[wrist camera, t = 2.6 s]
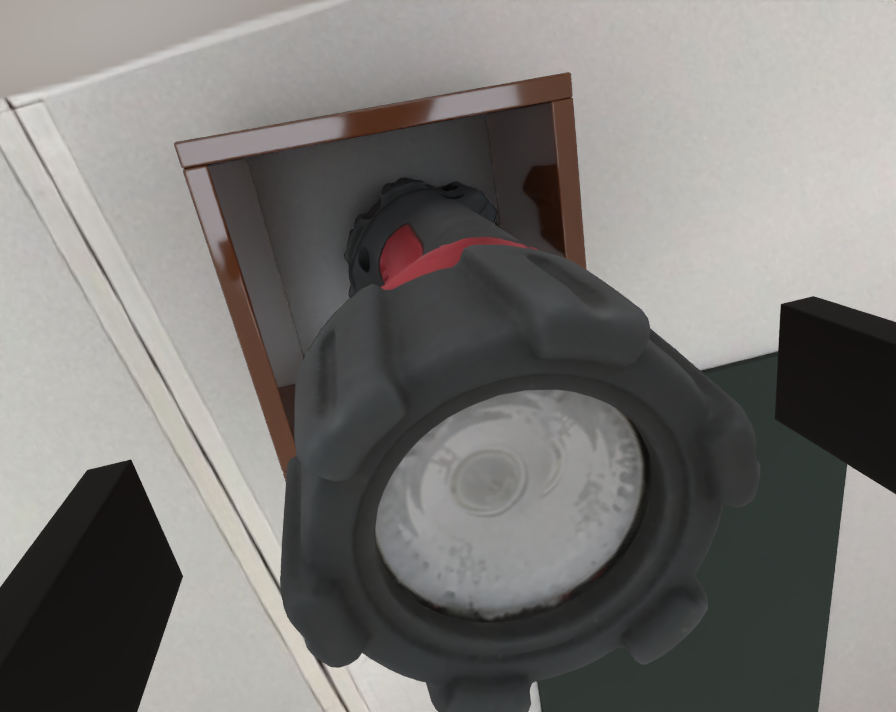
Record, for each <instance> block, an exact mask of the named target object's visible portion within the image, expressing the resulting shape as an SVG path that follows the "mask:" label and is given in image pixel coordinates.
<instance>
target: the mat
mask: <svg viewBox="0 0 896 712" xmlns="http://www.w3.org/2000/svg"><path fill="white" fill-rule="evenodd" d="M777 368H778V352H776V353H772V354H768V355H764V356H760V357H756V358H752V359H748V360H744V361H740V362H736V363H732V364H728V365H724V366H720V367H716V368H712V369H708V370H704V371H701V372H702V373H703V374H704V375H706V376H707V377H708V378H709V379H710V380H711V381H713V382H714V383H715V384H716V385H717V386H719V387H720V388H721V389H722V390H723V391H724V392H726V393H727V394H728V395H729V396H730V397H732V398H733V399H734V400H735V401H736V402H737V403H739V404H740V406H741V407H742V408H743V410H744V411H745V413H746V415H747V416H748V418H749V420H750V422H751V424H752V426H753V428H754V432H755V437H756V443H757V448H756V453H757V461H758V462H759V464H760V479H759V484H758V489H757V494H756V495H755V497H754V499H753V500H752V501H751V502H750V503H748V504H747V505H745V506H742V507H738V508H736V507H731V506H726V505H723V509H722V513H721V517H720V521H719V525H718V529H717V531H716V534H715V536H714V539H713V541H712V543H711V546H710V548H709V551H708V553H707V555H706V556H705V558H704V560H703V562H702V564H701V566H700V568H699V570H698V571H697V573H696V574H695V576H696V577H697V579H698V580H699V582H700V584H701V585H702V587H703V588H704V590H705V593H706V595H707V603H708V609H707V611H706V613H705V614H704V616H703V617H702V619H701V621H700V622H699V623H698V624H697V625H696V627H695V628H694V629H693V630H692V631H691V632H690V633H689V634H688V635H687V636H686V637H685V638H684V639H683V640H682V641H681V642H679V643H678V644H677V645H676V646H675V647H674V648H673V649H671V650H670V651H668V652H667V653H665V654H664V655H663V656H661V657H660V658H658V659H656V660H654V661H652V662H650V663H648V664H640V663H638V662H637V661H635V660H634V658H633V657H632V656H631V654H630V653H629V652H628V651H627V649H626V648H620V647H619V648H617V649H615V650H613V651H612V652H610V653H608V654H606V655H605V656H603V657H601V658H599V659H598V660H596V661H594V662H592V663H590V664H588V665H586V666H584V667H582V668H579V669H576V670H573V671H570V672H567V673H564V674H561V675H559V676H556V677H552V678H548V679H544V680H539V681H537V682H538V688H539V695H540V701H541V708H542V712H818V708H819V700H820V691H821V683H822V674H823V666H824V657H825V648H826V640H827V631H828V623H829V614H830V606H831V597H832V589H833V580H834V572H835V563H836V555H837V546H838V538H839V529H840V521H841V512H842V504H843V495H844V487H845V478H846V470H847V464H846V463H845V462H843V461H841V460H840V459H838V458H837V457H835V456H833V455H832V454H830V453H828V452H827V451H825V450H824V449H822V448H820V447H819V446H817V445H816V444H814V443H812V442H811V441H809V440H807V439H806V438H804V437H803V436H801V435H799V434H798V433H796V432H795V431H793V430H791V429H790V428H788V427H786V426H785V425H783V424H782V423H780V422H778V421H777V420H775V405H776V386H777Z"/></svg>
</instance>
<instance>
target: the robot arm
mask: <svg viewBox="0 0 896 712" xmlns="http://www.w3.org/2000/svg"><path fill="white" fill-rule="evenodd" d="M775 420H777V421H778V422H780V423H782V424H783V425H785V426H786V427H788V428H790V429H791V430H793V431H795V432H796V433H798V434H799V435H801V436H803V437H804V438H806V439H807V440H809V441H811V442H812V443H814V444H816V445H817V446H819V447H820V448H822V449H824V450H825V451H827V452H828V453H830V454H832V455H833V456H835V457H837V458H838V459H840V460H841V461H843V462H845V463H846V464H848V465H849V466H851V467H853V468H854V469H856V470H858V471H859V472H861V473H862V474H864V475H866V476H867V477H869V478H870V479H872V480H874V481H875V482H877V483H879V484H880V485H882V486H883V487H885V488H887V489H888V490H890V491H892V492H893V493H895V494H896V322H894V321H891V320H887V319H884V318H881V317H878V316H875V315H871V314H868V313H865V312H862V311H859V310H856V309H852V308H849V307H846V306H843V305H840V304H837V303H833V302H830V301H827V300H824V299H821V298H817V297H814V296H813V297H809V298H805V299H800V300H796V301H792V302H788V303H784V304H781V312H780V330H779V349H778V368H777V386H776V405H775ZM182 578H183V575H182V573H181V570H180V568H179V566H178V564H177V561H176V559H175V557H174V555H173V553H172V550H171V548H170V546H169V544H168V541H167V539H166V537H165V535H164V532H163V530H162V528H161V526H160V523H159V521H158V519H157V517H156V514H155V512H154V510H153V508H152V505H151V503H150V501H149V499H148V496H147V494H146V492H145V490H144V487H143V485H142V483H141V481H140V478H139V476H138V474H137V472H136V469H135V467H134V465H133V463H132V460H127V461H123V462H119V463H115V464H111V465H107V466H102V467H98V468H94V469H90V470H87V471H86V472H85V474H84V475H83V477H82V478H81V479H80V481H79V482H78V483H77V485H76V486H75V487H74V489H73V490H72V491H71V493H70V494H69V495H68V497H67V498H66V499H65V501H64V502H63V503H62V505H61V506H60V508H59V509H58V510H57V512H56V513H55V514H54V516H53V517H52V518H51V520H50V521H49V522H48V524H47V525H46V526H45V528H44V529H43V530H42V532H41V533H40V534H39V536H38V537H37V538H36V540H35V541H34V543H33V544H32V545H31V547H30V548H29V549H28V551H27V552H26V553H25V555H24V556H23V557H22V559H21V560H20V561H19V563H18V564H17V565H16V567H15V568H14V569H13V571H12V572H11V574H10V575H9V576H8V578H7V579H6V580H5V582H4V583H3V584H2V586H1V587H0V712H137V711H138V708H139V705H140V702H141V699H142V696H143V693H144V690H145V687H146V684H147V681H148V678H149V675H150V672H151V669H152V666H153V663H154V660H155V657H156V654H157V652H158V649H159V646H160V643H161V640H162V637H163V634H164V631H165V628H166V625H167V622H168V619H169V616H170V613H171V610H172V607H173V604H174V601H175V598H176V595H177V592H178V590H179V587H180V584H181V581H182Z"/></svg>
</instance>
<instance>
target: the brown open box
mask: <svg viewBox="0 0 896 712" xmlns="http://www.w3.org/2000/svg"><path fill="white" fill-rule="evenodd" d="M571 97H572V83H571V73H569V72H567V73H561V74H556V75H550V76H545V77H539V78H533V79H528V80H522V81H516V82H511V83H505V84H500V85H494V86H488V87H483V88H477V89H471V90H466V91H460V92H455V93H449V94H443V95H438V96H432V97H426V98H421V99H415V100H410V101H404V102H398V103H393V104H387V105H381V106H376V107H370V108H365V109H359V110H353V111H348V112H342V113H336V114H331V115H325V116H320V117H314V118H308V119H303V120H297V121H291V122H286V123H280V124H275V125H269V126H263V127H258V128H252V129H246V130H241V131H235V132H230V133H224V134H218V135H213V136H207V137H202V138H196V139H190V140H185V141H179V142H175V143H174V146H175V149H176V152H177V155H178V158H179V161H180V164H181V167H182V168H184V170H183V173H184V176H185V179H186V182H187V185H188V188H189V191H190V194H191V197H192V200H193V203H194V206H195V209H196V212H197V215H198V218H199V221H200V224H201V227H202V230H203V234H204V237H205V240H206V243H207V246H208V249H209V252H210V255H211V258H212V261H213V264H214V267H215V270H216V273H217V276H218V279H219V282H220V285H221V288H222V291H223V294H224V297H225V300H226V303H227V306H228V309H229V312H230V315H231V318H232V321H233V324H234V327H235V330H236V333H237V336H238V339H239V342H240V345H241V348H242V351H243V354H244V357H245V360H246V363H247V366H248V369H249V372H250V375H251V378H252V381H253V384H254V387H255V390H256V393H257V396H258V399H259V402H260V405H261V408H262V411H263V414H264V417H265V420H266V423H267V426H268V429H269V432H270V435H271V439H272V442H273V445H274V448H275V451H276V454H277V457H278V460H279V463H280V466H281V469H282V471H283V475H284V478H285V481H286V473H287V464H288V462H289V460H290V459H291V458H293V457H295V456H296V448H295V440H294V421H295V383H296V376H297V374H298V372H299V369H300V367H301V364H302V362H303V360H304V357H303V354H302V350H301V347H300V343H299V340H298V336H297V333H296V329H295V326H294V322H293V319H292V316H291V312H290V309H289V305H288V302H287V298H286V295H285V291H284V288H283V284H282V281H281V277H280V274H279V270H278V267H277V264H276V260H275V257H274V253H273V250H272V246H271V243H270V239H269V236H268V232H267V229H266V225H265V222H264V219H263V215H262V212H261V208H260V205H259V201H258V198H257V194H256V191H255V187H254V184H253V180H252V177H251V173H250V170H249V167H248V163H247V160H246V157H251V156H257V155H262V154H267V153H273V152H278V151H284V150H289V149H295V148H300V147H306V146H311V145H316V144H322V143H327V142H333V141H338V140H344V139H349V138H355V137H360V136H366V135H371V134H376V133H382V132H387V131H393V130H398V129H404V128H409V127H415V126H420V125H426V124H431V123H436V122H442V121H447V120H453V119H458V118H464V117H469V116H475V115H480V114H486V120H487V127H488V135H489V142H490V150H491V157H492V165H493V173H494V180H495V188H496V195H497V203H498V210H499V218H500V226H501V229H502V230H504V231H505V232H507V233H508V234H510V235H511V236H513V237H514V238H516V239H517V240H519V241H520V242H522V243H523V244H525V245H526V246H528V247H534V248H536V249H538V250H540V251H544V252H547V253H551V254H554V255H558V256H561V257H563V258H566V259H568V260H571V261H573V262H575V263H577V264H578V265H580V266H581V267H583V268H584V269H586V261H585V248H584V235H583V222H582V209H581V196H580V183H579V170H578V157H577V144H576V131H575V118H574V105H573V98H571Z"/></svg>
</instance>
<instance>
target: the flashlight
mask: <svg viewBox="0 0 896 712" xmlns="http://www.w3.org/2000/svg"><path fill="white" fill-rule="evenodd" d="M495 216H496V211H495V209H494V207H493V206H492V205H491V204H490V203H489V201H488V200H487V199H486V197H485V196H484V194H483V193H482V192H481V191H479V190H478V189H475V188H473V187H470V186H466V185H463V184H461V183H459V182H452V183H450V184H447V185H445V186H441V187H434V186H432V185H429V184H426V183H424V182H423V181H420V180H413V179H409V178H400V179H398V180H397V181H396V182H395V183H388V184H386V185H385V186H384V187H383V189H382V195H381V198H380V200H379V201H378V202H377V203H376V204H375V205H374V206H373V207H372V208H371V209H370V211H369V212H368V213H367V214H365V215H362V214H360V215H358V216H357V218H356V219H355V223H354V228H353V229H352V230H351V231H350V234H349V239H348V243H347V247H346V251H345V254H344V258H345V260H346V261H347V262H348V264H349V279H350V282H351V286H350V290H349V297H350V299H349V300H348V301H347V302H346V303H345V304H344V305H343V306H342V307H341V308H340V309H339V310H337V311H336V312H335V313H334V314H333V316H332V317H331V318H330V319H329V320H328V322H327V323H326V324H325V325H324V327H323V328H322V329H321V330H320V332H319V334H318V335H317V337H316V338H315V340H314V342H313V343H312V345H311V347H310V349H309V350H308V352H307V354H306V356H305V358H304V360H303V362H302V364H301V367H300V369H299V372H298V374H297V376H296V383H295V421H294V440H295V448H296V456H295V457H293V458H291V459H290V460H289V462H288V464H287V473H286V493H285V508H284V522H283V537H282V556H281V577H280V586H281V594H282V600H283V605H284V609H285V611H286V614H287V617H288V618H289V620H290V622H291V623H292V624H293V626H294V627H295V628H296V629H297V630H298V631H299V632H300V634H301V635H302V636H303V637H304V638H305V643H306V646H307V648H308V650H309V651H310V652H311V654H313V655H314V656H315V657H317V658H318V659H319V660H321V661H322V662H323V663H325V664H327V665H328V666H330V667H338V668H339V667H343V666H346V665H349V664H351V663H352V662H354V661H355V660H357V659H358V658H359V656H360V655H361V653H363V654H365V655H366V656H368V657H369V658H370V659H372V660H374V661H376V662H377V663H379V664H381V665H383V666H384V667H386V668H388V669H390V670H392V671H394V672H396V673H399V674H401V675H403V676H405V677H408V678H412V679H415V680H418V681H422V682H426V684H427V688H428V691H429V694H430V698H431V701H432V703H433V705H434V707H435V709H436V710H437V711H438V712H528V711H529V708H530V705H531V700H530V687H531V684H532V683H533V682H535V681H539V680H544V679H548V678H552V677H556V676H559V675H561V674H564V673H567V672H570V671H573V670H576V669H579V668H582V667H584V666H586V665H588V664H590V663H592V662H594V661H596V660H598V659H599V658H601V657H603V656H605V655H606V654H608V653H610V652H612V651H613V650H615V649H617V648H619V647H620V648H626V649H627V651H628V652H629V653H630V654H631V656H632V657H633V658H634V660H635V661H637V662H638V663H640V664H648V663H650V662H652V661H654V660H656V659H658V658H660V657H661V656H663V655H664V654H665V653H667V652H668V651H670V650H671V649H673V648H674V647H675V646H676V645H677V644H678V643H679V642H681V641H682V640H683V639H684V638H685V637H686V636H687V635H688V634H689V633H690V632H691V631H692V630H693V629H694V628H695V627H696V625H697V624H698V623H699V622H700V621H701V619H702V617H703V616H704V614H705V613H706V611H707V609H708V603H707V595H706V593H705V590H704V588H703V587H702V585H701V584H700V582H699V580H698V579H697V577H696V576H695V574H696V573H697V571H698V570H699V568H700V566H701V564H702V562H703V560H704V558H705V556H706V555H707V553H708V551H709V548H710V546H711V543H712V541H713V539H714V536H715V534H716V531H717V529H718V525H719V521H720V517H721V513H722V509H723V505H726V506H731V507H736V508H738V507H742V506H745V505H747V504H748V503H750V502H751V501H752V500H753V499H754V497H755V495H756V494H757V489H758V484H759V479H760V464H759V462H758V461H757V453H756V448H757V443H756V437H755V432H754V428H753V426H752V424H751V422H750V420H749V418H748V416H747V415H746V413H745V411H744V410H743V408H742V407H741V406H740V404H739V403H737V402H736V401H735V400H734V399H733V398H732V397H730V396H729V395H728V394H727V393H726V392H724V391H723V390H722V389H721V388H720V387H719V386H717V385H716V384H715V383H714V382H713V381H711V380H710V379H709V378H708V377H707V376H706V375H704V374H703V373H702V372H701V371H700V370H699V369H697V368H696V367H695V366H694V365H693V364H692V363H691V362H689V361H688V360H687V359H686V358H685V357H684V356H683V355H681V354H680V353H679V352H678V351H677V350H676V349H675V348H673V347H672V346H671V345H670V344H668V343H667V342H666V341H665V340H664V339H662V338H661V337H660V336H659V335H657V334H656V333H655V332H654V331H653V330H652V329H650V325H649V321H648V318H647V317H646V315H645V314H644V312H643V311H642V310H641V309H640V308H639V307H637V306H636V305H635V304H633V303H632V302H631V301H629V300H628V299H627V298H626V297H624V296H623V295H622V294H620V293H619V292H618V291H616V290H615V289H614V288H612V287H611V286H609V285H608V284H606V283H605V282H603V281H602V280H601V279H599V278H598V277H596V276H595V275H593V274H592V273H590V272H589V271H587V270H586V269H584V268H583V267H581V266H580V265H578V264H577V263H575V262H573V261H571V260H568V259H566V258H563V257H561V256H558V255H554V254H551V253H547V252H544V251H540V250H538V249H536V248H534V247H528V246H526V245H525V244H523V243H522V242H520V241H519V240H517V239H516V238H514V237H513V236H511V235H510V234H508V233H507V232H505V231H504V230H502V229H501V228H499V227H498V226H496V225H495V224H493V222H494V219H495Z"/></svg>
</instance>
